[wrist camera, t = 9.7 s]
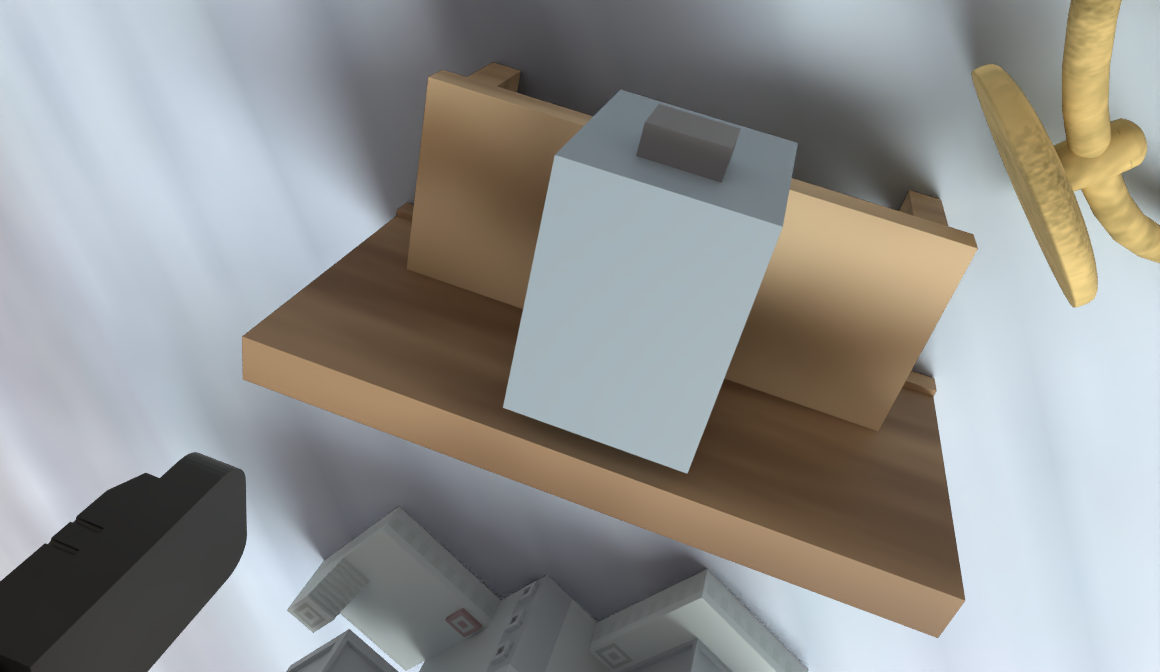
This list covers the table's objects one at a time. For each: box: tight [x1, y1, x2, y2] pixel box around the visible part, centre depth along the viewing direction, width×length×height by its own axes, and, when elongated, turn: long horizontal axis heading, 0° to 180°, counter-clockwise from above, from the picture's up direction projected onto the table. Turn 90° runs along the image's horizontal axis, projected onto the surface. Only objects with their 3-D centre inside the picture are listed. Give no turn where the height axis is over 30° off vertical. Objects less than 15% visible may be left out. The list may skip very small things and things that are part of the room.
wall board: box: [242, 62, 978, 638], centre depth 25 cm, size 11×20×10 cm, turn 77°
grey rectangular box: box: [503, 89, 798, 473], centre depth 21 cm, size 8×5×6 cm, turn 167°
